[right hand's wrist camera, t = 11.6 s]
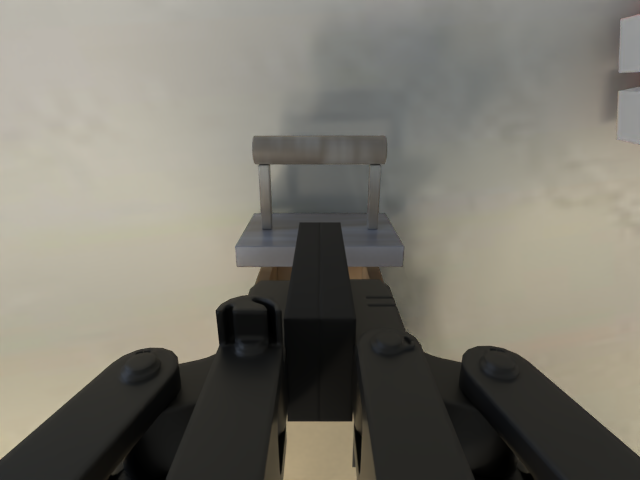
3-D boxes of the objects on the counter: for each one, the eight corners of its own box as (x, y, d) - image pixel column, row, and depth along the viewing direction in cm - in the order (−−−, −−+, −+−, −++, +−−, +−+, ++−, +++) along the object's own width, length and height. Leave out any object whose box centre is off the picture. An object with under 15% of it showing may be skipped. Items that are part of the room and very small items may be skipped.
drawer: (248, 131, 24) (226, 141, 18) (390, 131, 24) (413, 141, 18) (267, 433, 33) (256, 506, 27) (372, 433, 33) (383, 506, 27)
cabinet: (254, 308, 30) (231, 380, 22) (385, 308, 30) (407, 380, 22) (267, 498, 37) (253, 602, 29) (372, 498, 37) (386, 602, 29)
